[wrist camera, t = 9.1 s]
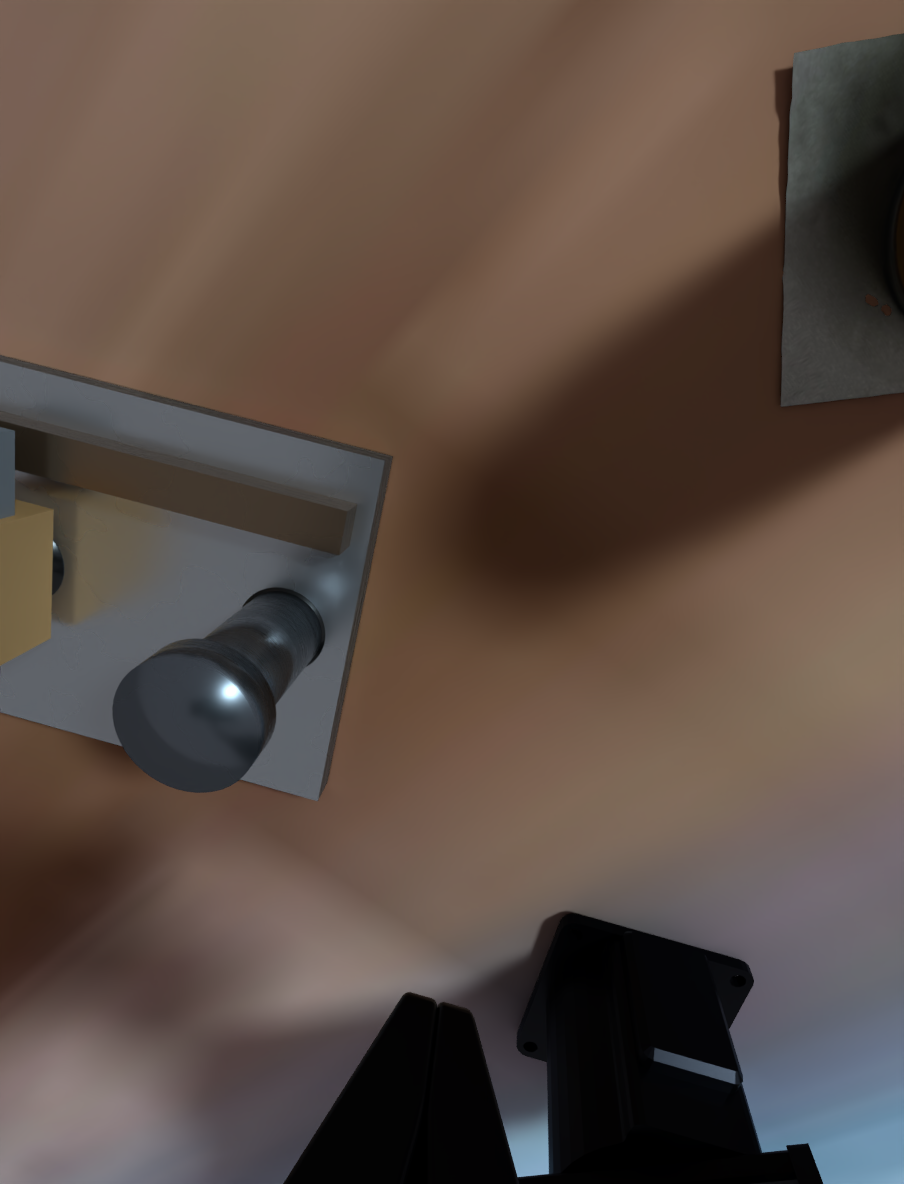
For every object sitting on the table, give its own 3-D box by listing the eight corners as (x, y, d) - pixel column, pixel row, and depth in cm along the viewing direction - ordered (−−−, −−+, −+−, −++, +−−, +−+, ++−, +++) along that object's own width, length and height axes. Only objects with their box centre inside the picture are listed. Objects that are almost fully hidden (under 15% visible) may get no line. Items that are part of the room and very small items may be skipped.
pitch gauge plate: (327, 782, 21) (243, 945, 15) (-122, 657, 22) (-375, 765, 16) (393, 456, 18) (318, 498, 12) (-150, 316, 18) (-494, 286, 12)
